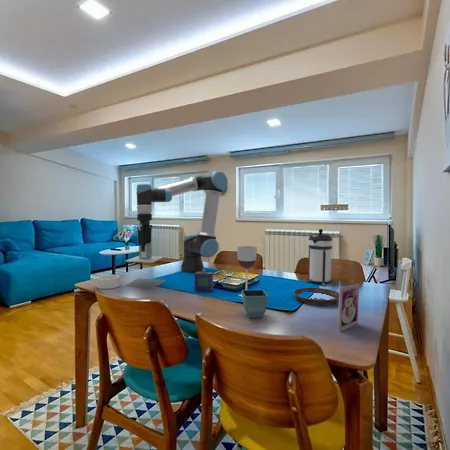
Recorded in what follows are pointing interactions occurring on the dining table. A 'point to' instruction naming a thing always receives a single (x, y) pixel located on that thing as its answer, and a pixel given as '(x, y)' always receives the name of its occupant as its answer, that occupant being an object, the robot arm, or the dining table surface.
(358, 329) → the dining table surface
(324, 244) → the coffee press
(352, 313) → the greeting card
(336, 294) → the plant saucer
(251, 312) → the flower pot
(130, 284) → the mat
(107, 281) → the bowl
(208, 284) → the flask
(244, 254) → the wineglass
